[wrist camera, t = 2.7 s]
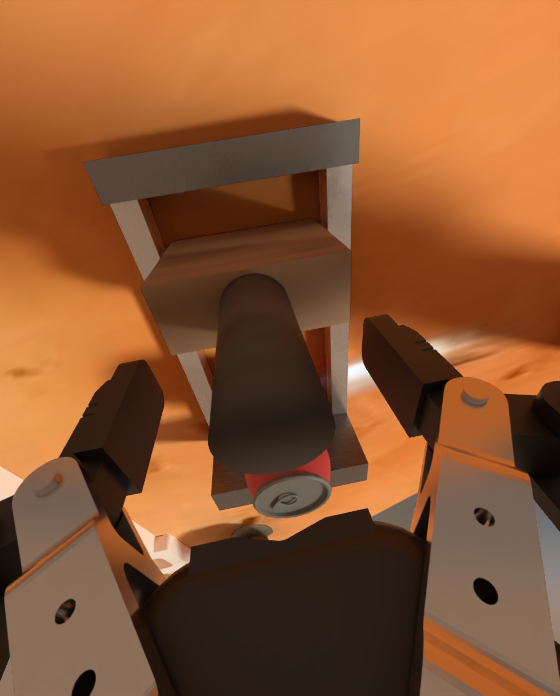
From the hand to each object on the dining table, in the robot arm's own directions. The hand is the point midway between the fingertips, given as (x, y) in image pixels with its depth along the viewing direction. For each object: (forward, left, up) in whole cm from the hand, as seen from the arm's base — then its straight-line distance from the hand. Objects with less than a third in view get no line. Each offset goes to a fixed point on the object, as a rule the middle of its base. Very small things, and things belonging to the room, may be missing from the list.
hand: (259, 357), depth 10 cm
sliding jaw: (0, 0, -12) cm, 13 cm away
